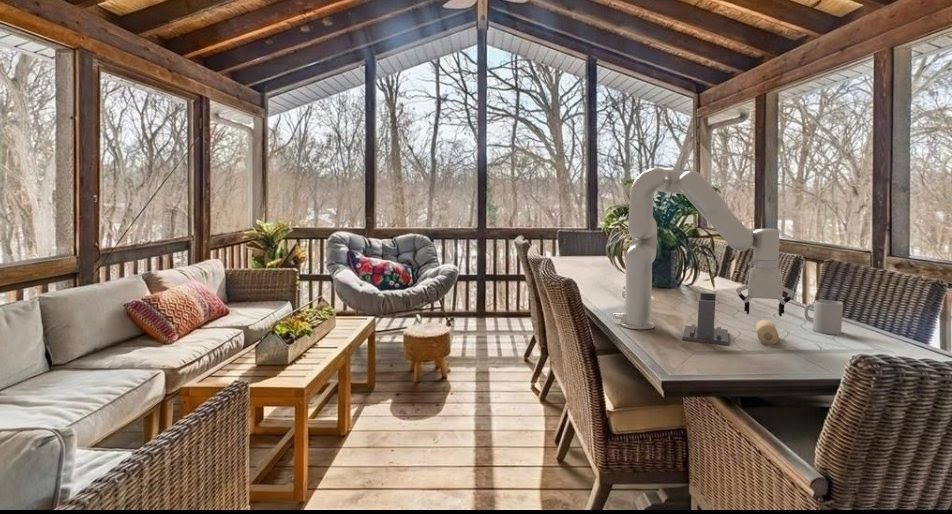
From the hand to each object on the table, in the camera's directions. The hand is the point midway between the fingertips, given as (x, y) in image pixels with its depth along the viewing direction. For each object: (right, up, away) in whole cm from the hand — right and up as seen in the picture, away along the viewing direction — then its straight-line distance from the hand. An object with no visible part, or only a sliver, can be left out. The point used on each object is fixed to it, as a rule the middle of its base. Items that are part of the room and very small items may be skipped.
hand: (763, 314), depth 170 cm
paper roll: (0, -8, +1) cm, 8 cm away
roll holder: (-18, -8, +5) cm, 20 cm away
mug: (+28, -8, +13) cm, 32 cm away
